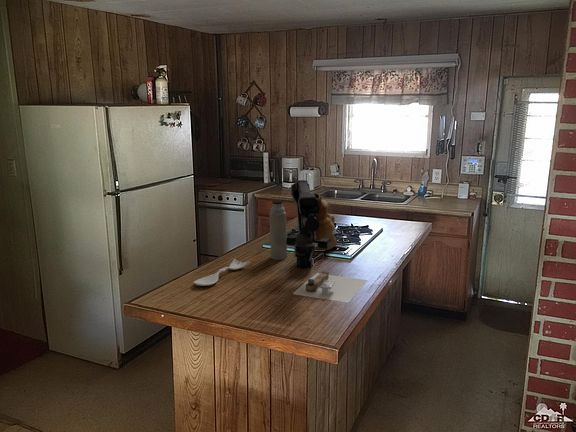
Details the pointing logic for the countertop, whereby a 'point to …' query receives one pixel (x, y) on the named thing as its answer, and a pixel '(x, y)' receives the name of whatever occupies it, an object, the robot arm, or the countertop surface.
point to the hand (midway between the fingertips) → (308, 260)
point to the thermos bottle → (278, 231)
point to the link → (317, 282)
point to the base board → (335, 289)
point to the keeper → (327, 287)
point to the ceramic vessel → (324, 223)
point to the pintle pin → (310, 282)
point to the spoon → (214, 277)
